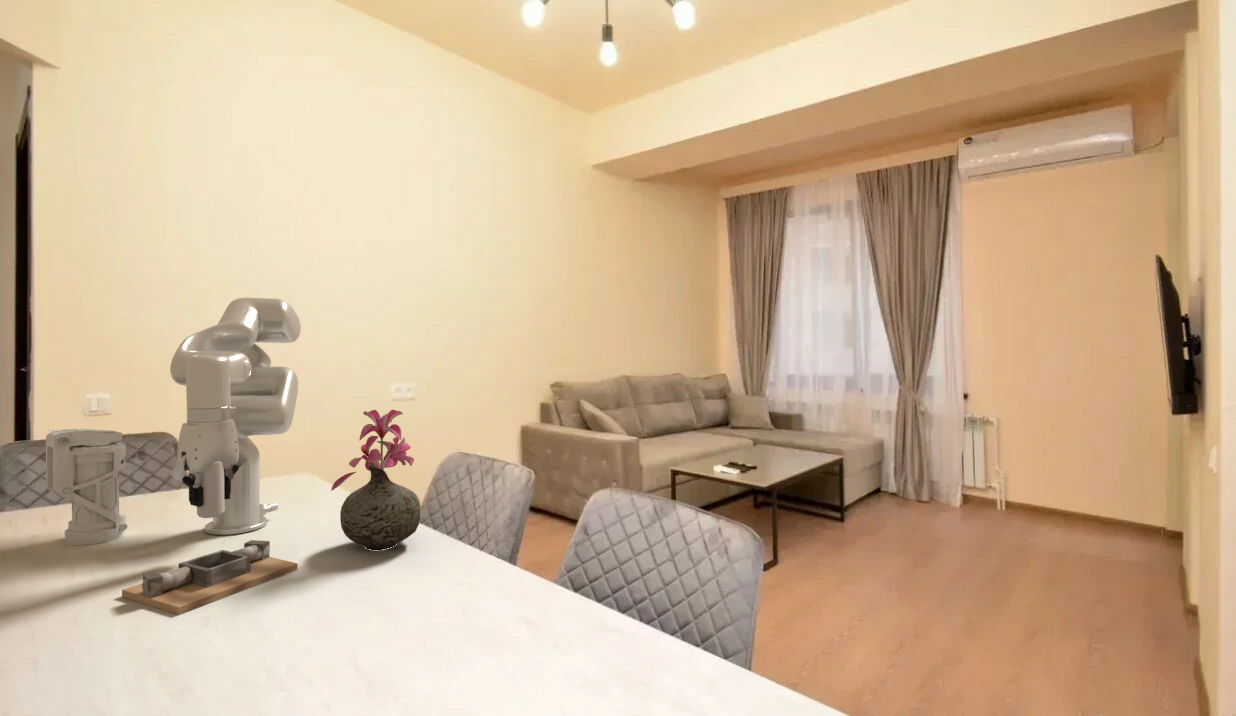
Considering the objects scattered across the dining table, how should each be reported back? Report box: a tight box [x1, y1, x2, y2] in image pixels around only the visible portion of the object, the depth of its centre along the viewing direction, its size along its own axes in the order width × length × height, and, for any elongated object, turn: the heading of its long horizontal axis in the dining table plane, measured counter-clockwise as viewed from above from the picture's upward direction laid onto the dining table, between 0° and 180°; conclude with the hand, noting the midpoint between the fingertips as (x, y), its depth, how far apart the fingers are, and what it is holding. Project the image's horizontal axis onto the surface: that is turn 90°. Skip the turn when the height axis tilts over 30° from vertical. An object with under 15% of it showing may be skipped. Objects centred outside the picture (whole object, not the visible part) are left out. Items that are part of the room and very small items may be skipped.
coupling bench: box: [121, 539, 299, 615], centre depth 112 cm, size 22×16×4 cm
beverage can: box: [196, 460, 225, 519], centre depth 124 cm, size 5×5×12 cm
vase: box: [330, 409, 421, 550], centre depth 133 cm, size 17×17×30 cm
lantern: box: [45, 428, 128, 546], centre depth 134 cm, size 13×10×25 cm
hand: (210, 500), depth 125 cm, fingers closed on beverage can, 4 cm apart
